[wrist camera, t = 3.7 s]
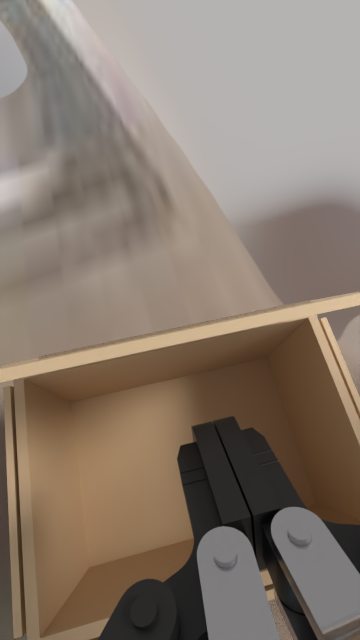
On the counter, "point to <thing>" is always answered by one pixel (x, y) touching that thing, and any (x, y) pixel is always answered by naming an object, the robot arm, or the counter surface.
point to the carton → (160, 461)
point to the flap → (175, 336)
